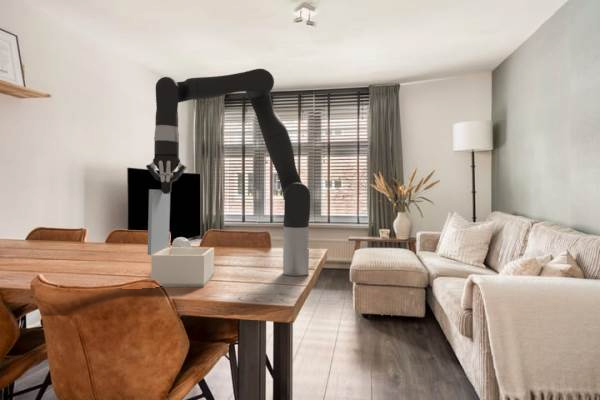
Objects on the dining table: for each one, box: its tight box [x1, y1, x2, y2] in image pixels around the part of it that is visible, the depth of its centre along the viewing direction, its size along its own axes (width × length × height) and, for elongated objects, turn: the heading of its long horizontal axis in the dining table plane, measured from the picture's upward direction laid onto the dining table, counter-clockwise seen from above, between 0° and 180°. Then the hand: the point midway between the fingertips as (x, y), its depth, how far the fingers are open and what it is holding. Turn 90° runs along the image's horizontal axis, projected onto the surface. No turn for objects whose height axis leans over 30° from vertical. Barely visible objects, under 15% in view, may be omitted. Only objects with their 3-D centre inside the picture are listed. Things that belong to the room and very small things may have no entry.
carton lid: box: [147, 188, 171, 256], centre depth 117 cm, size 20×17×1 cm
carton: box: [150, 247, 215, 288], centre depth 118 cm, size 16×16×10 cm
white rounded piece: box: [171, 236, 192, 248], centre depth 134 cm, size 10×4×12 cm, turn 39°
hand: (166, 193), depth 117 cm, fingers closed
